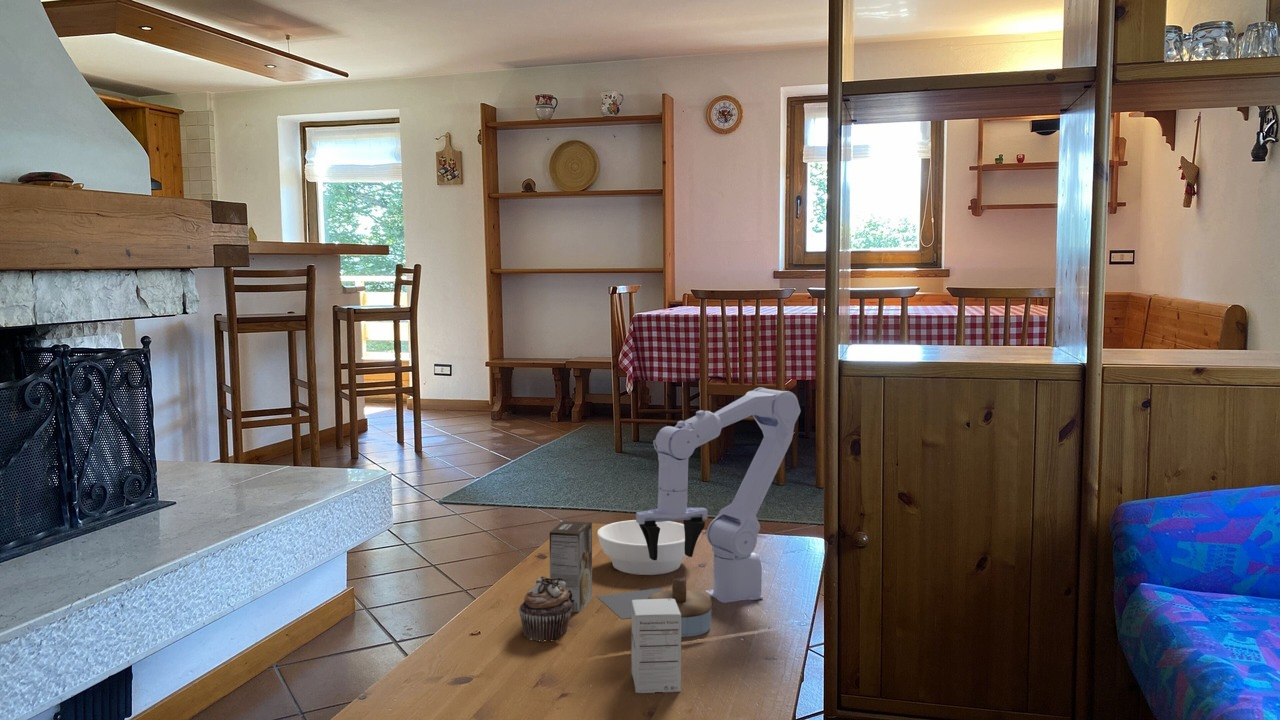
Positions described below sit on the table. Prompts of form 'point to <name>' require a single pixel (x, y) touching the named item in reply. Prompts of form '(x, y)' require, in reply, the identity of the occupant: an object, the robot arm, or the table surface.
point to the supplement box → (656, 645)
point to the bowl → (643, 547)
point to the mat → (625, 601)
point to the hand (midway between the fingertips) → (671, 557)
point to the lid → (685, 599)
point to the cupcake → (546, 610)
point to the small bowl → (695, 624)
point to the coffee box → (573, 560)
